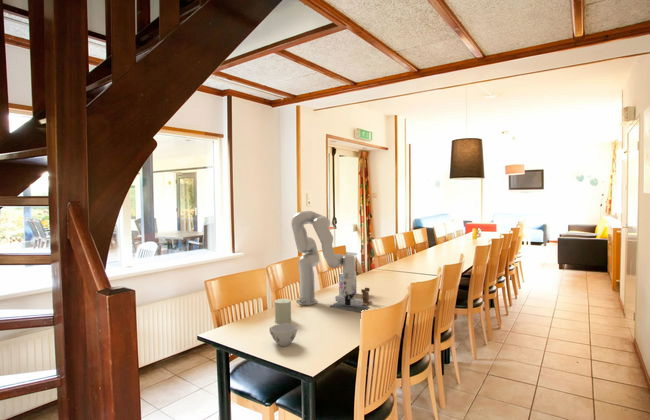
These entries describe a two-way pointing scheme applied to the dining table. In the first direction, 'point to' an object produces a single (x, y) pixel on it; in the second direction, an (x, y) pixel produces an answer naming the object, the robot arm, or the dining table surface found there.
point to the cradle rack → (365, 296)
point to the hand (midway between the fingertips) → (349, 303)
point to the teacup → (283, 333)
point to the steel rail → (352, 300)
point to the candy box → (342, 283)
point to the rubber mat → (349, 307)
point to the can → (282, 311)
